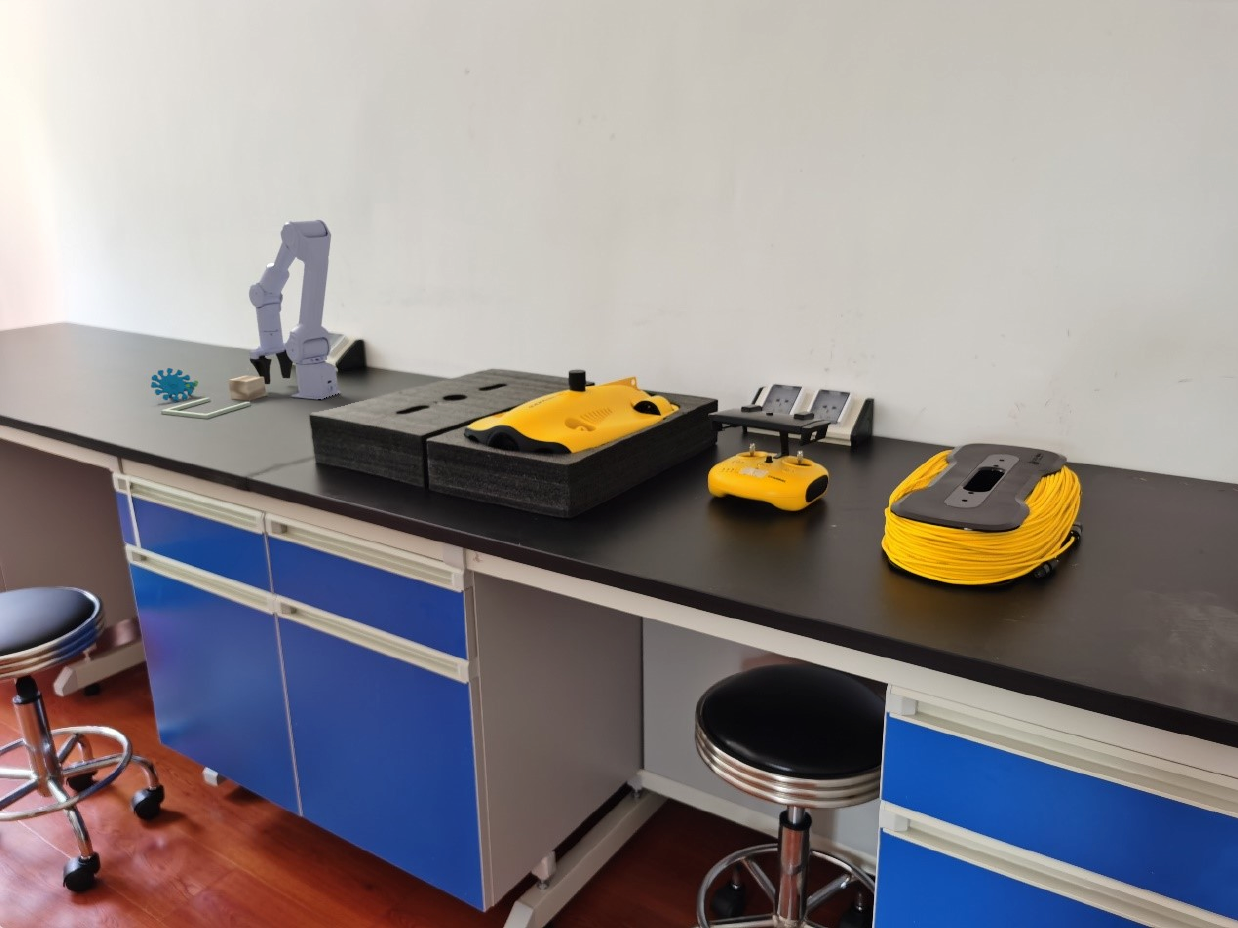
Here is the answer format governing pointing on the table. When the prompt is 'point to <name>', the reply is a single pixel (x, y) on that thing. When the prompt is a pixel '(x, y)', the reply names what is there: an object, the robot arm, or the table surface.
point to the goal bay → (199, 415)
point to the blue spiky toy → (173, 384)
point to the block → (247, 387)
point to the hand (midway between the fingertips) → (276, 380)
